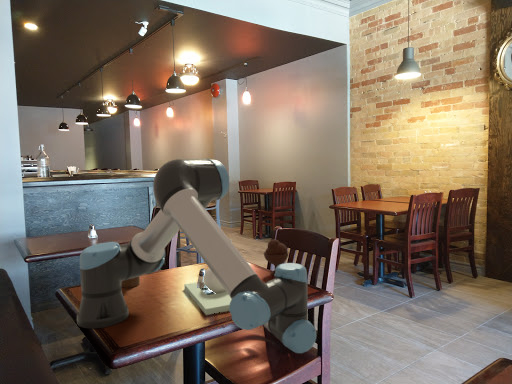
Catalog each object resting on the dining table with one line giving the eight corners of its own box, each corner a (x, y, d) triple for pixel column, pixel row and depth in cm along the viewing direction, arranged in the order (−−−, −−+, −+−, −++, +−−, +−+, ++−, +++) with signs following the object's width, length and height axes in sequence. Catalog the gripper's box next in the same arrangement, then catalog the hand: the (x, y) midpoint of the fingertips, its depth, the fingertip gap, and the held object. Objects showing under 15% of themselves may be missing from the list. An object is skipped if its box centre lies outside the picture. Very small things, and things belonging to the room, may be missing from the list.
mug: (143, 289, 146) (142, 265, 145) (122, 292, 143) (121, 268, 142) (138, 281, 157) (137, 259, 156) (119, 284, 153) (117, 261, 153)
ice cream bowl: (263, 277, 158) (262, 242, 157) (266, 270, 169) (265, 237, 168) (288, 277, 156) (287, 242, 155) (289, 270, 167) (288, 237, 166)
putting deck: (265, 303, 127) (264, 251, 126) (206, 315, 119) (204, 259, 118) (235, 281, 153) (233, 238, 152) (184, 289, 145) (182, 243, 143)
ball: (217, 253, 138) (210, 265, 147) (201, 276, 131) (195, 287, 140) (242, 270, 138) (234, 280, 146) (227, 294, 131) (219, 304, 139)
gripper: (251, 334, 96) (220, 303, 117) (295, 324, 101) (258, 297, 122) (250, 305, 95) (220, 280, 116) (294, 297, 100) (258, 274, 122)
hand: (239, 289), depth 119 cm, fingers closed
